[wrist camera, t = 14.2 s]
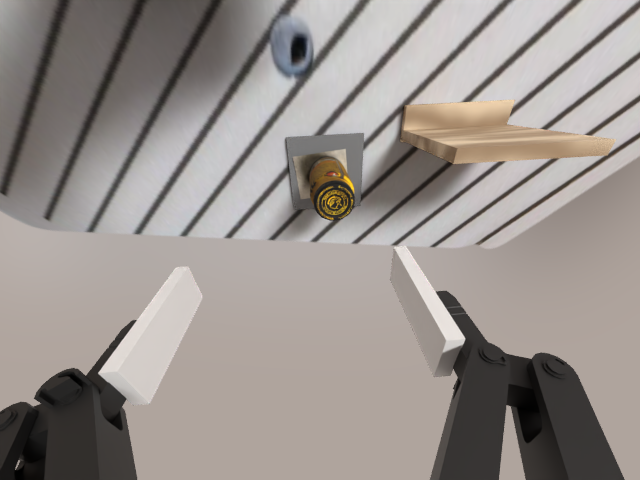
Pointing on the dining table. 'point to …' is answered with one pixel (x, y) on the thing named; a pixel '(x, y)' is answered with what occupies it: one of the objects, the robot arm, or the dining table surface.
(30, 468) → the robot arm
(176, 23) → the dining table surface
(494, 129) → the screen
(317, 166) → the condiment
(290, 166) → the mat
